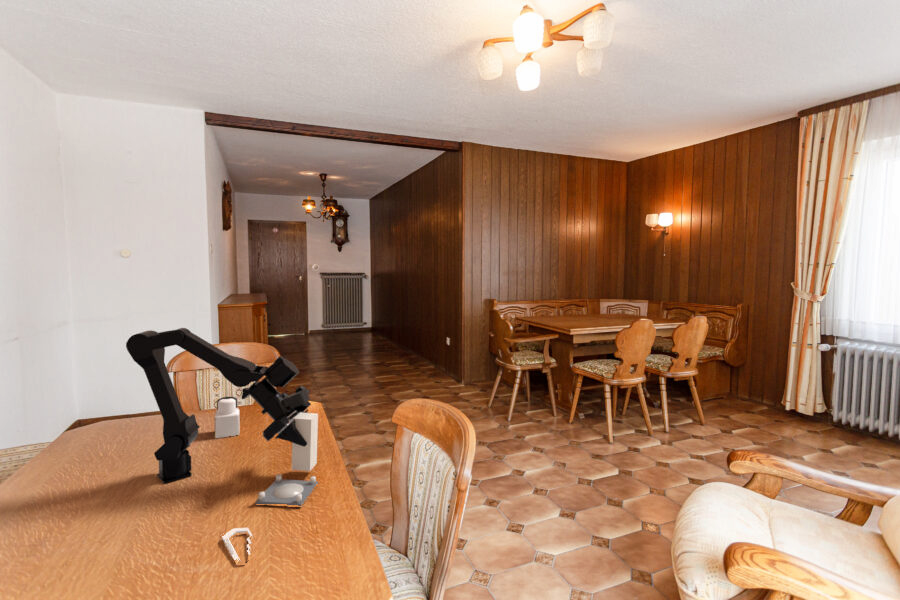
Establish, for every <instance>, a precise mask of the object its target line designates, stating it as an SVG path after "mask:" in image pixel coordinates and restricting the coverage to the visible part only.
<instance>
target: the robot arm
mask: <svg viewBox="0 0 900 600" xmlns="http://www.w3.org/2000/svg"><path fill="white" fill-rule="evenodd" d="M125 346H126V347H125V348H126V350H127V352H128V354H129V355H130V357H131V358H132V360H133V361H134V362H135V363H136V364H137V365H138V366H139V367H141V369H143V373H145V376H146V379H147V381H148V384H149V386H150V389H151V392H152V395H153V397H154V400H155V402H156V404H157V407H158V409H159V412H160V414H161V417H162V420H163V421H162V422H163V425H162V436H163V437H162V438H163V442H164V443H163V444H162V445H161V446H160V447H159V448H158V449H157V450H155V452H154V453H153V454H154V457H155V459H156V461H158V472H157V474H156V477H158V479H159V480H160V481H161V482H162V483H163V484H168V483H173V482H175V481H178V480H179V481H180V480H182V479H185V478H188V477H191V476H192V474H193V473H192V472H191V471H192V456H191V454H190V451H189V450H188V448H190V447H191V444H193V442H194V441H195V440H196V439H197V437H198V436H199V429H200V427H201V426H200V425H199V424H198V423H197V419H196V415H195V414H191V415H188V414H187V413H186V412H185V411H184V408H183V407H182V405H181V401H180V399H179V397H178V395H177V392H176V389H175V386H174V384H173V382H172V379H171V376H170V373H169V371H168V369H167V365H166V363H165V354H166V348H167V347H172V346H177V347H179V348H181V349H183V350H184V351H187V352H188V353H189V354H192V356H195V357H196V358H198V359H200V360H201V361H203V362H205V363H207V364H209V365H210V366H211V367H214V368H216V370H218V371H219V372H220V374H222V376H223V378H225V379H226V380H227V381H228V382H229V383H230V384H232V385H233V386H234V387H237V388H242V393H241V400H245V399H247V398H249V397H251V398H252V399H253V400H254V402H256V403H257V404H258V405H259V406H260V408H261V409H262V410H261V413H262V415H265V414H268V416H269V417H270V418H271V419H272V420H273V421H272V422H271V423H270V424H269V425H268V426H266V428H265V429H264V430H263V431H262V437H263V438H264V440H265V441H267V442H269V441H271V439H273V438H274V439H277V440H278V439H279V440H282V441H287V442H289V443H291V444H292V443H295V444H298V445H301V446H304V447H305V446H306V445H307V442H306V441H305V439H304V438H303V437H302V435H301V434H300V433H299V431H298V430H297V429H296V427H295V420H294V421H293V418H294V417H295V416H297V415H298V414H299V413H300V412H301V413H309V409H308V408H309V407H310V406H311V405H312V403H311V402H310V401H309V400H311V397H310V395H309V394H310V392H311V391H310V390H308V388H307V387H305V386H304V385H300V386H298V387H297V388H296V387H295V392H293V393H291V394H287V392H283V393H280V391H278V388H284V387H286V385H287V384H289V382H291V381H292V380H293V378H295V377H296V376H297V375H298V374H300V371H299V368H298V367H297V366H296V364H294V362H292V361H290V360H288V359H287V358H285V357H284V356H282V355H279V356H278V357H277V358H276V359H275V360H274V362H273V363H272V364H271V365H269V366H262V365H256V363H254V362H252V361H250V360H248V359H246V358H242V357H238V356H235V355H231V354H229V353H227V352H226V351H224V350H222V349H220V348H219V347H216V346H215V345H213V344H211V343H210V342H209V341H206V340H205V339H203V338H201V337H200V336H198V335H197V334H195V333H193V332H192V331H191V330H190V329H188V328H186V327H180V328H177V329H173V330H166V331H160V332H158V331H155V330H145V331H142V332H139V333H136V334H132V335H131V336H130V337H129V338H128V339H127V341H126V342H125ZM262 378H263V379H262ZM261 379H262V380H261ZM251 383H252V384H251ZM250 384H251V385H250ZM249 385H250V386H249ZM247 386H248V387H247ZM275 435H276V436H275Z"/></svg>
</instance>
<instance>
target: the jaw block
mask: <svg viewBox="0 0 900 600" xmlns="http://www.w3.org/2000/svg"><path fill="white" fill-rule="evenodd" d="M294 420H295V427H296V429H297V430H298V431H299V433H300V434H301V435H302V437H303V438H304V439H305V441H306V442H307V445H306V446H305V447H304V446H301V445H298V444H295V443H292V442H291V471H301V472H302V471H303V472H311V471H312V470H313V469H314V467H315V466H316V465H317V462H318V433H319V431H318V430H319V429H318V428H319V427H318V425H319V413H312V412H307V413H301V412H300V413H299V414H298V415H297V416H295V417H294V418H293V421H294Z"/></svg>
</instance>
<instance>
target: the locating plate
mask: <svg viewBox="0 0 900 600" xmlns="http://www.w3.org/2000/svg"><path fill="white" fill-rule="evenodd" d="M316 479H317V477H316V476H315V475H313V476H310V477H309V480H298V479H283V477H282V474H280V473H279V474H276V475H275V480H274V481H273V482H272V483H271V484H270V486H268V487H267V489H266V490H264V491H260V492H258V498H257V499H256V500H255V505H256V504H287V505H298V506H301V505H302V504H303V503H304V501H305V500H306V499H307V497H308V496H309V494H310V493H311V492H312V490H313V489H314V487H315V486H316V484H317V483H318V484H319V481H317V480H316Z"/></svg>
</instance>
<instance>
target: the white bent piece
mask: <svg viewBox="0 0 900 600" xmlns="http://www.w3.org/2000/svg"><path fill="white" fill-rule="evenodd" d="M245 532H248V534H249V535H250V537H251V536H252V537H253V534H252V532H251V530H250V529H249V527H234V528H232V529H231V530H228V532H225V533H226V534H225V535H224V536H222V539H221V541H222V540H223V541H224V543H225V545H226V547H227V549H228V550H229V552H230V554H231V556H232V557H233V559H234V560H236V559H237V560H238V559H239V560H240V561H241V559H240V557H239V555H238V554H237V551H236V550H235V548H234V546H233V544H232V542H231V540H229V538H230V537H231V536H233V535H234V534H236V533H245ZM250 537H248V536H247V538H246V542H247V541H248V543H249V544H251V545H252V541H251V540H250V539H249V538H250ZM249 544H246V553H247V552H248V554H249V555H251V546H249ZM225 545H224V546H225ZM226 547H225V548H226ZM247 548H248V550H247ZM227 549H226V550H227ZM249 549H250V551H249ZM229 552H228V553H229ZM230 554H229V555H230ZM231 556H230V557H231ZM239 560H238V561H239ZM238 561H237V562H238Z"/></svg>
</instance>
